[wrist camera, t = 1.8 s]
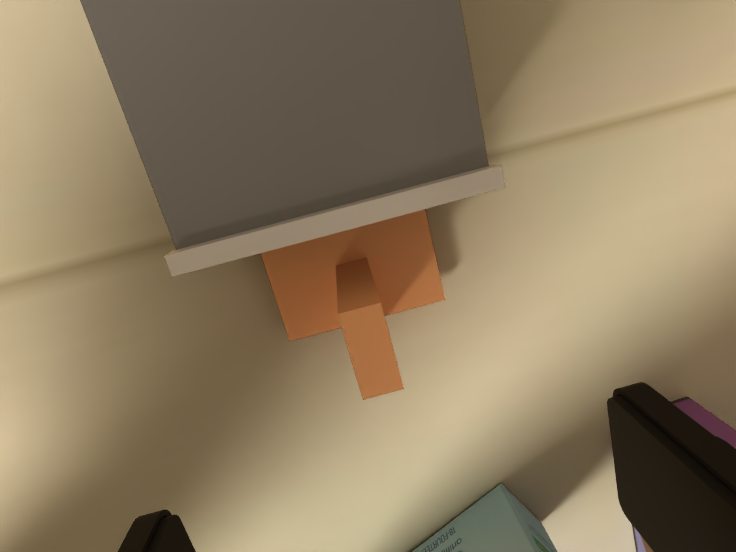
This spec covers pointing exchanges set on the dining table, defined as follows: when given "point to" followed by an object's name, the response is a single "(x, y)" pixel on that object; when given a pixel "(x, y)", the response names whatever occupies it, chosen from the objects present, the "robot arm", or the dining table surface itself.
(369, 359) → the orange stepped block
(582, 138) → the dining table surface
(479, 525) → the teal product box
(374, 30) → the grey boxy piece
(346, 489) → the dining table surface
